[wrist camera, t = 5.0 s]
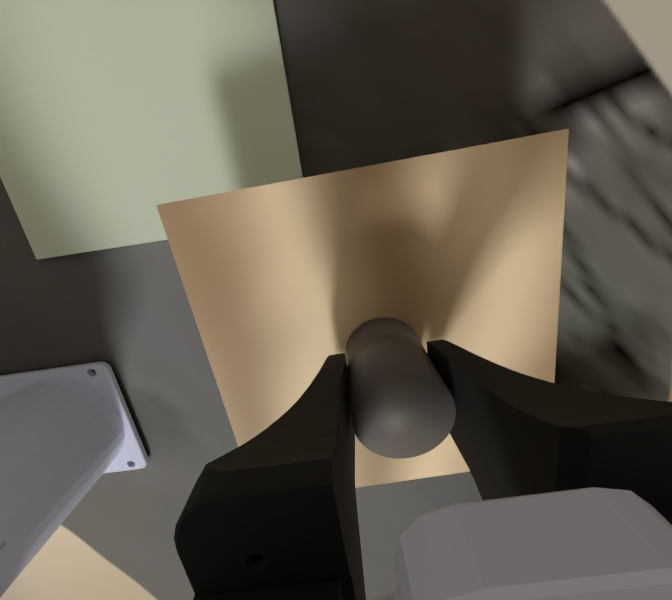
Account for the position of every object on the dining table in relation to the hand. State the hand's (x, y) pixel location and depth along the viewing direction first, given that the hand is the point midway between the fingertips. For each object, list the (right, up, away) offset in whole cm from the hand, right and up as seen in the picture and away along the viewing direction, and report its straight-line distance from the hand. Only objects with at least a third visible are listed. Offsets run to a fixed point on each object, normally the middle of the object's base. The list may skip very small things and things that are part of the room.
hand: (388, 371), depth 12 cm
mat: (-12, +13, +3) cm, 18 cm away
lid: (0, +1, +2) cm, 2 cm away
